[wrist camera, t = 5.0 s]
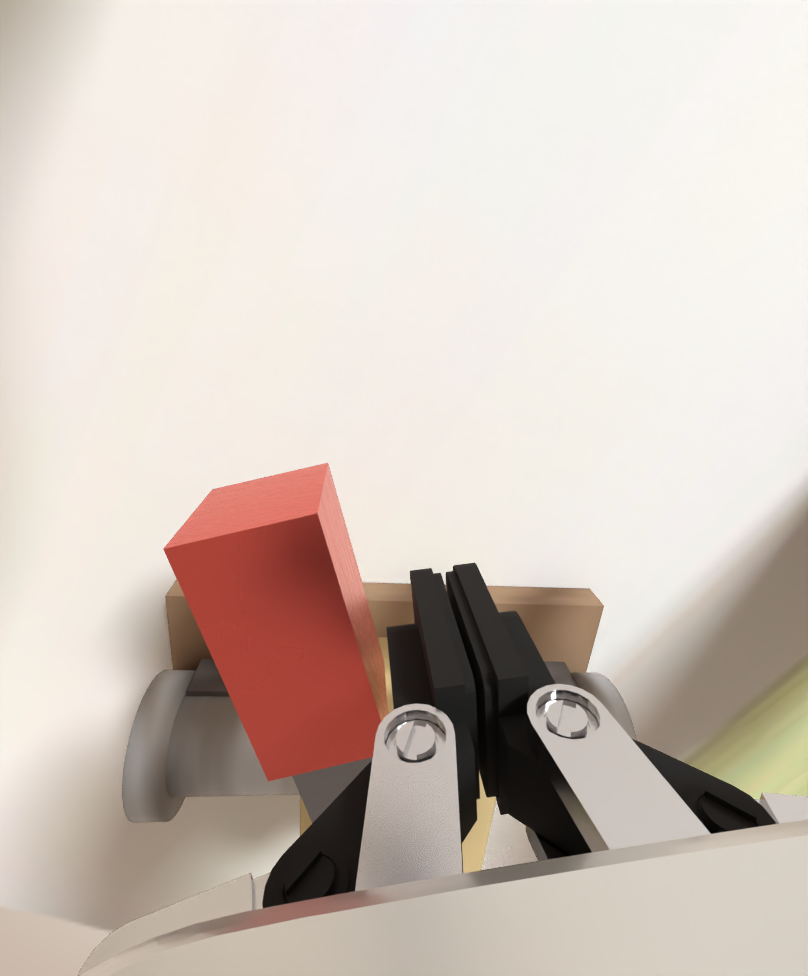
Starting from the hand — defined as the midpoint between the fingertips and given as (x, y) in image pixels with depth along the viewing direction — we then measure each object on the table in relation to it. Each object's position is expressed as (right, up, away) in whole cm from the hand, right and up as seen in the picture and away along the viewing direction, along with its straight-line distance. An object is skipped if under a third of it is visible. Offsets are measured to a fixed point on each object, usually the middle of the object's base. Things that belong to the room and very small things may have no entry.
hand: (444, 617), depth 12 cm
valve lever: (-3, -4, +2) cm, 5 cm away
